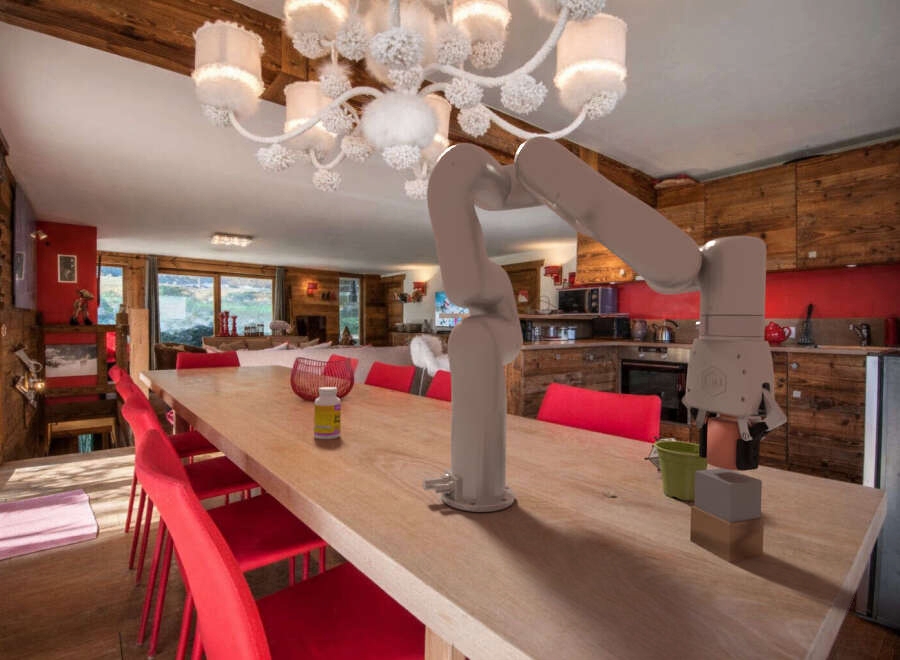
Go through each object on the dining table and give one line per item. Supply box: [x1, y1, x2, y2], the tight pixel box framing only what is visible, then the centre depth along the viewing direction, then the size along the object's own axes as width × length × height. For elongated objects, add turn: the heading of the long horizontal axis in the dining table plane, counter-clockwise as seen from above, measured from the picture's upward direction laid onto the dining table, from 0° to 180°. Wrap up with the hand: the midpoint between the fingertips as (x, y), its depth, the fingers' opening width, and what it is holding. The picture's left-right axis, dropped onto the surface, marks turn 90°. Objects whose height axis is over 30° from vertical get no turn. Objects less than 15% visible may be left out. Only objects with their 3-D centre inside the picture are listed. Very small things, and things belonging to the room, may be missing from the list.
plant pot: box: [653, 440, 709, 502], centre depth 81 cm, size 9×9×9 cm
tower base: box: [689, 505, 765, 563], centre depth 61 cm, size 6×6×5 cm
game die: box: [643, 434, 683, 472], centre depth 91 cm, size 9×8×10 cm
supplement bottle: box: [313, 386, 342, 440], centre depth 118 cm, size 7×7×13 cm
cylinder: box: [707, 416, 752, 472], centre depth 61 cm, size 5×5×6 cm
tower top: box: [693, 468, 763, 523], centre depth 61 cm, size 6×6×5 cm
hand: (727, 461), depth 61 cm, fingers closed on cylinder, 5 cm apart
